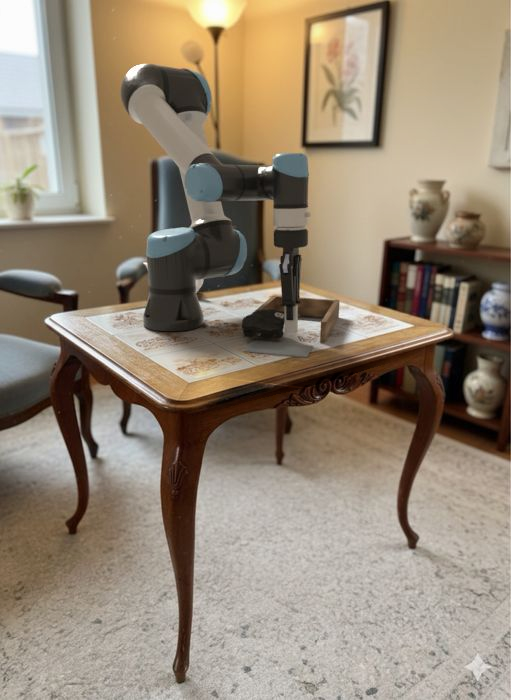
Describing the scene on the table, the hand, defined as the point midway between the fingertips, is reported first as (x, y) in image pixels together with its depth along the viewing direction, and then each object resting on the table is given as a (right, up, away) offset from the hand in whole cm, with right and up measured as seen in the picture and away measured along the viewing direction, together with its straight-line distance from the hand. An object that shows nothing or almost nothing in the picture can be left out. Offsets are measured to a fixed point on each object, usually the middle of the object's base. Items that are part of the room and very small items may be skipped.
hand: (291, 332), depth 124 cm
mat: (-3, -4, -5) cm, 7 cm away
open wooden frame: (+2, +2, +13) cm, 13 cm away
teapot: (-34, +12, +45) cm, 58 cm away
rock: (-10, -1, +2) cm, 11 cm away
